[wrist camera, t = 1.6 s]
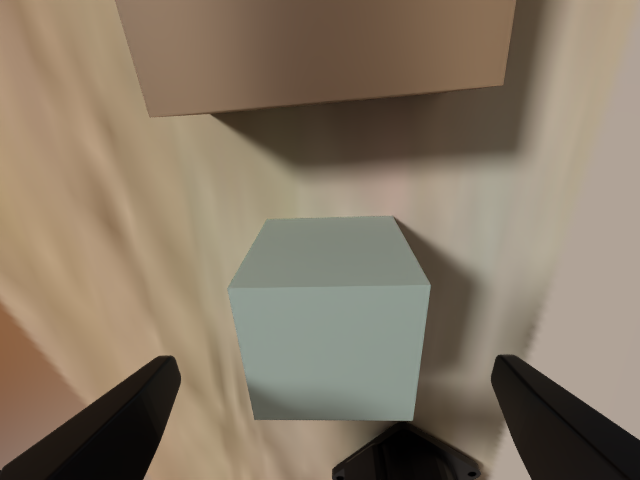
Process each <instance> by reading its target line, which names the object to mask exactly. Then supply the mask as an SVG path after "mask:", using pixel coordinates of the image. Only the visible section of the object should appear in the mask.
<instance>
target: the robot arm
mask: <svg viewBox="0 0 640 480" xmlns="http://www.w3.org/2000/svg"><path fill="white" fill-rule="evenodd" d="M180 383H181V375H180V372H179V369H178V365H177V362H176V359H175V358H174V357H173V356H158V357H156V358H155V359H153V360H152V361H150V362H149V363H148V364H146V365H145V366H143V367H142V368H141V369H139V370H138V371H136V372H135V373H134V374H132V375H131V376H129V377H128V378H127V379H125V380H124V381H123V382H121V383H120V384H118V385H117V386H116V387H114V388H113V389H111V390H110V391H109V392H107V393H106V394H104V395H103V396H102V397H100V398H99V399H97V400H96V401H95V402H93V403H92V404H90V405H89V406H88V407H86V408H85V409H83V410H82V411H81V412H79V413H78V414H77V415H75V416H74V417H72V418H71V419H70V420H68V421H67V422H65V423H64V424H63V425H61V426H60V427H58V428H57V429H56V430H54V431H53V432H51V433H50V434H49V435H47V436H46V437H44V438H43V439H42V440H40V441H39V442H37V443H36V444H35V445H33V446H32V447H30V448H29V449H28V450H26V451H25V452H23V453H22V454H21V455H19V456H18V457H16V458H15V459H14V460H13V461H11V462H9V463H8V464H7V465H5V466H4V467H3V468H2V470H0V480H143V479H144V477H145V475H146V472H147V470H148V468H149V466H150V464H151V461H152V459H153V457H154V455H155V452H156V450H157V448H158V446H159V443H160V441H161V438H162V435H163V433H164V430H165V427H166V424H167V421H168V419H169V416H170V413H171V410H172V407H173V404H174V401H175V398H176V395H177V393H178V390H179V387H180ZM491 383H492V386H493V389H494V392H495V394H496V397H497V399H498V402H499V405H500V407H501V410H502V413H503V415H504V418H505V420H506V423H507V426H508V428H509V431H510V433H511V436H512V438H513V441H514V443H515V446H516V448H517V450H518V452H519V455H520V457H521V459H522V461H523V463H524V465H525V467H526V469H527V471H528V473H529V475H530V477H531V479H532V480H640V440H639V439H637V438H635V437H634V436H633V435H631V434H630V433H628V432H627V431H625V430H624V429H622V428H621V427H620V426H618V425H617V424H615V423H613V422H612V421H611V420H609V419H608V418H606V417H605V416H604V415H602V414H601V413H599V412H598V411H596V410H595V409H593V408H592V407H590V406H589V405H587V404H586V403H584V402H583V401H582V400H580V399H579V398H577V397H576V396H574V395H573V394H571V393H570V392H568V391H567V390H565V389H564V388H563V387H561V386H560V385H558V384H557V383H555V382H554V381H552V380H551V379H549V378H548V377H547V376H545V375H544V374H542V373H541V372H539V371H538V370H536V369H535V368H533V367H532V366H530V365H529V364H527V363H526V362H525V361H523V360H522V359H520V358H519V357H517V356H515V355H498V356H497V357H496V359H495V363H494V367H493V371H492V374H491ZM480 475H481V472H480V469H479V467H478V464H477V463H475V462H473V461H472V460H470V459H468V458H467V457H465V456H463V455H462V454H460V453H458V452H457V451H455V450H453V449H451V448H450V447H448V446H446V445H445V444H443V443H441V442H440V441H438V440H436V439H435V438H433V437H431V436H429V435H428V434H426V433H424V432H423V431H421V430H419V429H418V428H416V427H414V426H412V425H411V424H409V423H407V422H399V423H397V424H395V425H393V426H392V427H391V428H389V429H388V430H386V431H385V432H384V433H382V434H381V435H379V436H378V437H377V438H375V439H374V440H372V441H371V442H369V443H368V444H367V445H365V446H364V447H362V448H361V449H360V450H358V451H357V452H355V453H354V454H353V455H351V456H350V457H348V458H347V459H346V460H344V461H343V462H341V463H340V464H338V465H337V466H336V467H334V468H333V469H332V479H333V480H474V479H476V478H478V477H479V476H480Z"/></svg>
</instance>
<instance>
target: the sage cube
mask: <svg viewBox="0 0 640 480" xmlns="http://www.w3.org/2000/svg"><path fill="white" fill-rule="evenodd" d="M430 288H431V284H430V283H429V281H428V279H427V277H426V275H425V274H424V272H423V270H422V268H421V266H420V265H419V263H418V261H417V259H416V257H415V256H414V254H413V252H412V250H411V248H410V247H409V245H408V243H407V241H406V239H405V237H404V236H403V234H402V232H401V230H400V228H399V227H398V225H397V223H396V221H395V219H394V218H393V216H367V217H331V218H295V219H267V220H266V222H265V224H264V225H263V227H262V229H261V231H260V232H259V234H258V236H257V238H256V239H255V241H254V243H253V245H252V246H251V248H250V250H249V252H248V253H247V255H246V257H245V259H244V260H243V262H242V264H241V266H240V267H239V269H238V271H237V272H236V274H235V276H234V278H233V279H232V281H231V283H230V285H229V286H228V288H227V289H228V294H229V299H230V303H231V308H232V313H233V318H234V323H235V328H236V332H237V337H238V342H239V347H240V352H241V357H242V361H243V366H244V371H245V376H246V381H247V386H248V391H249V395H250V400H251V405H252V410H253V415H254V420H374V421H413V416H414V408H415V401H416V393H417V385H418V378H419V370H420V363H421V355H422V348H423V340H424V333H425V325H426V318H427V310H428V303H429V295H430Z"/></svg>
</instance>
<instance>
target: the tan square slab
mask: <svg viewBox="0 0 640 480" xmlns="http://www.w3.org/2000/svg"><path fill="white" fill-rule="evenodd" d="M115 2H116V5H117V9H118V12H119V16H120V19H121V22H122V26H123V29H124V32H125V36H126V39H127V43H128V46H129V49H130V53H131V56H132V60H133V63H134V66H135V70H136V73H137V77H138V80H139V83H140V87H141V90H142V93H143V97H144V100H145V104H146V107H147V110H148V114H149V117H165V116H182V115H199V114H214V113H225V112H236V111H247V110H258V109H269V108H281V107H292V106H303V105H314V104H325V103H336V102H347V101H358V100H369V99H380V98H391V97H402V96H413V95H424V94H435V93H446V92H454V91H462V90H470V89H478V88H485V87H493V86H501V85H503V83H504V77H505V70H506V64H507V57H508V51H509V45H510V38H511V32H512V25H513V19H514V12H515V6H516V0H115Z"/></svg>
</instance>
